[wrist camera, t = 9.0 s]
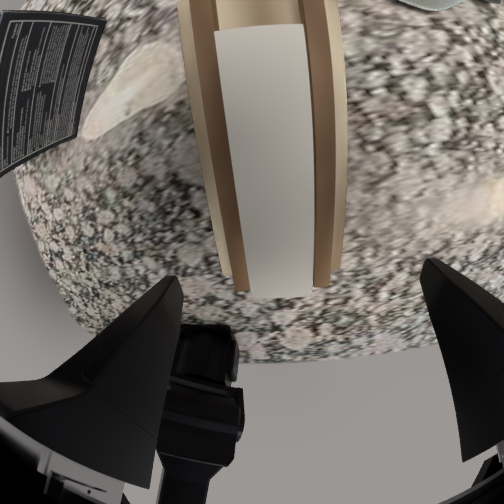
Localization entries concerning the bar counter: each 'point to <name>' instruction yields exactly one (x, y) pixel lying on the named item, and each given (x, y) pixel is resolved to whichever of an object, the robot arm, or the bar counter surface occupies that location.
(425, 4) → the salad plate
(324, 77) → the floor track
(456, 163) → the bar counter surface
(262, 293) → the door panel
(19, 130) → the small box
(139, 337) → the robot arm
